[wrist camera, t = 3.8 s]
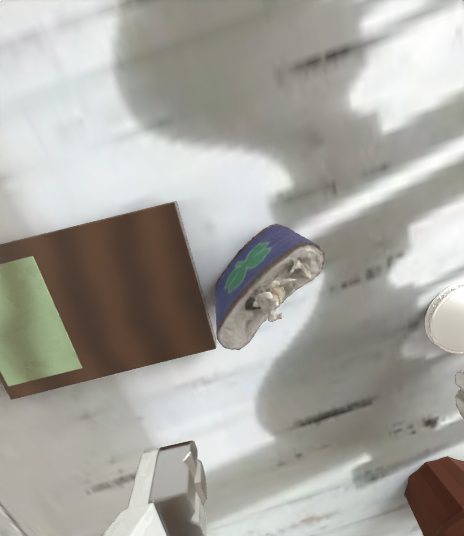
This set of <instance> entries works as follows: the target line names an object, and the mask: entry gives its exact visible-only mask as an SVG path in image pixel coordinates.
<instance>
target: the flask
mask: <svg viewBox="0 0 464 536" xmlns="http://www.w3.org/2000/svg"><path fill="white" fill-rule="evenodd" d="M323 264H324V251H322V250H321V249H320V247H319V246H318V245H317V244H315V243H313V242H311V241H310V240H308V239H306V238H304V237H302V236H300V235H299V234H297V233H295V232H294V231H292V230H290V229H289V228H287V227H284V226H281V225H278V224H274V225H270V226H269V227H267V228H265V229H263V230H262V231H261V232H260V233H259V234H258V235H256V236H255V237H253V238H252V240H250V241H249V242H248V243H247V244H246V245H244V247H243V248H242V249H241V250H240V251H239V252H238V254H237V256H236V257H235V258H234V259H233V261H232V262H231V263H230V264H229V265H228V266H227V269H226V270H224V272H223V274H222V276H221V277H220V278H219V279H218V282H217V284H216V286H215V291H214V297H215V305H216V325H217V339H218V341H219V343H220V344H221V345H222V346H223V347H224V348H227V349H232V350H234V349H236V350H240V349H241V348H243V347H244V346H245V345H247V344H248V343H249V342H250V340H251V339H252V338H253V336H254V334H255V333H256V332H257V330H258V328H259V327H260V326H261V324H262V323H263V322H264V321H265V320H266V319H267V317H268V321H270V322H273V321H276V320H277V319H282V317H283V314H282V313H281V314H279V315H277V314H276V313H275V309H276V308H278V307H279V306H280V304H281V303H283V302H284V300H285V299H286V298H287V297H288V296H290V295H291V294H292V293H293V292H294V291H296V290H297V289H298V288H300V287H302V286H303V285H304V284H306V283H308V282H310V281H312V280H313V279H314V278H315V277H316V276H317V275H318V274H319V273H320V272H321V270H322V268H323Z"/></svg>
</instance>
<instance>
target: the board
mask: <svg viewBox="0 0 464 536" xmlns="http://www.w3.org/2000/svg"><path fill="white" fill-rule="evenodd" d="M212 349H216V339H215V335H214V332H213V328H212V325H211V321H210V318H209V314H208V311H207V307H206V304H205V300H204V296H203V293H202V289H201V286H200V282H199V279H198V275H197V272H196V268H195V265H194V261H193V258H192V254H191V251H190V247H189V243H188V240H187V236H186V233H185V229H184V226H183V222H182V219H181V215H180V212H179V208H178V205H177V202H176V201H174V202H170V203H166V204H162V205H158V206H154V207H150V208H146V209H142V210H138V211H134V212H130V213H126V214H122V215H118V216H114V217H110V218H106V219H101V220H97V221H93V222H89V223H85V224H81V225H77V226H73V227H69V228H65V229H61V230H57V231H53V232H49V233H45V234H41V235H37V236H33V237H28V238H24V239H20V240H16V241H12V242H8V243H4V244H0V380H1V382H2V383H3V385H4V387H5V389H6V391H7V393H8V395H9V396H10V398H11V399H16V398H20V397H24V396H28V395H32V394H36V393H40V392H44V391H48V390H52V389H56V388H60V387H64V386H68V385H72V384H76V383H80V382H84V381H88V380H92V379H96V378H100V377H104V376H108V375H112V374H116V373H120V372H124V371H128V370H132V369H136V368H140V367H144V366H148V365H152V364H156V363H160V362H164V361H168V360H172V359H176V358H180V357H184V356H188V355H192V354H196V353H200V352H204V351H208V350H212Z"/></svg>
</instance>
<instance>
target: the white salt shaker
mask: <svg viewBox="0 0 464 536" xmlns="http://www.w3.org/2000/svg"><path fill="white" fill-rule="evenodd" d="M425 330H426V333H427V335H428V337H429V339H430V340H431V341H432V342H433V343H434V344H436V345H437V346H439V347H440V348H441V349H443V350H445V351H447V352H451V353H464V282H461V283H457V284H454V285H452V286H450V287H448V288H446V289H445V290H443V291H442V292H441V293H440V294H439V295H437V297H436V298H435V299H434V300H433V301H432V303H431V304H430V306H429V308H428V310H427V313H426V317H425Z"/></svg>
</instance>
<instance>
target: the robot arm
mask: <svg viewBox="0 0 464 536" xmlns="http://www.w3.org/2000/svg"><path fill="white" fill-rule="evenodd" d="M455 384H456V385H457V386H458V387H459V388H460V389H459V391H458V392H457V394H456V406H457V408H458V410H459V412H460V414H461V416H462V417H463V418H464V370H463V371H459V372H457V374H456V375H455ZM206 499H207V488H206V478H205V473H204V468H203V465H202V462H201V461H200V460H198V459H197V447H196V445H195V442H194V441H188V442H183V443H179V444H175V445H170V446H166V447H161V448H159V449H155V450H150V451H146V452H143V454H142V455H141V457H140V461H139V465H138V469H137V473H136V476H135V480H134V484H133V488H132V492H131V496H130V500H129V503H128V507H127V509H126V510H123V511H121V512H120V514H119V515H118V516H117V518H116V519H115V520H114V521H113V523H112V524H111V525H110V527H109V528H108V529H107V530H106V532H105V533H104V534H103V536H206V520H207V516H206V513H205V510H204V507H203V504H204V503H205V501H206Z"/></svg>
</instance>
